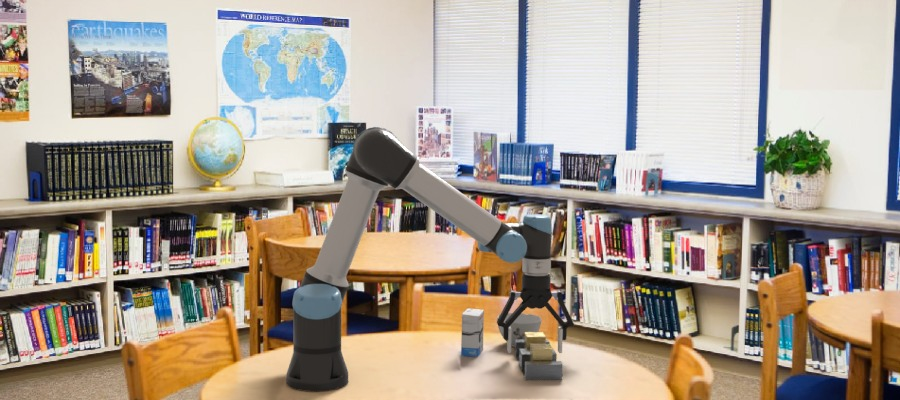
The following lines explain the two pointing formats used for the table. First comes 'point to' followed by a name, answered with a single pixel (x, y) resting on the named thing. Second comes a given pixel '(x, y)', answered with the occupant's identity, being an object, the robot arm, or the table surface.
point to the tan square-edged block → (533, 339)
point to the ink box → (472, 332)
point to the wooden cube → (541, 352)
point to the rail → (537, 364)
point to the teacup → (522, 326)
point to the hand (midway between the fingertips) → (534, 351)
